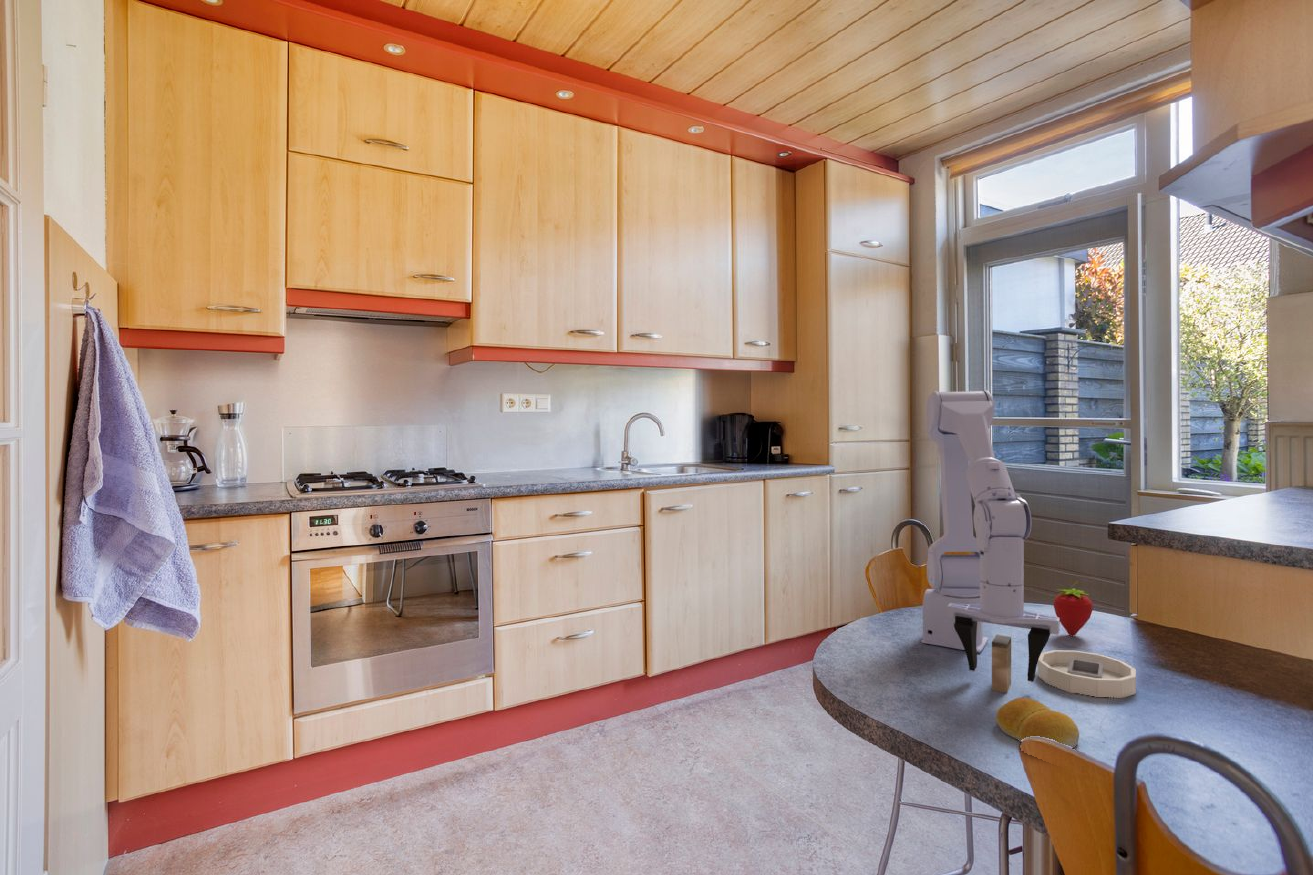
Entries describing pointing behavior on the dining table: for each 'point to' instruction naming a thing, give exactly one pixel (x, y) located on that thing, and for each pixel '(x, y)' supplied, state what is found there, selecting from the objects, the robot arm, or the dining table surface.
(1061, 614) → the strawberry
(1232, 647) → the dining table surface
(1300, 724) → the dining table surface
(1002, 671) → the tan cardboard box
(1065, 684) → the beige faceted bowl
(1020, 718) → the bread roll
